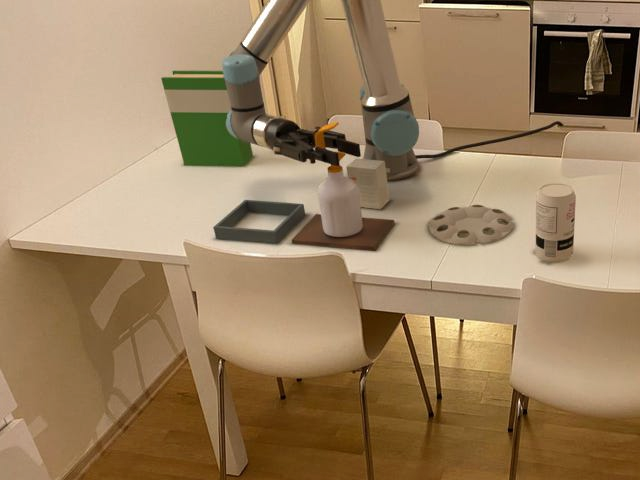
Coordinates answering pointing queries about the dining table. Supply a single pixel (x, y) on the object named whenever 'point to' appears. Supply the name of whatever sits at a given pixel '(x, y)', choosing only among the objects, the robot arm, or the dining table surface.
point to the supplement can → (555, 222)
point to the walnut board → (362, 240)
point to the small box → (370, 182)
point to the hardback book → (203, 119)
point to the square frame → (257, 235)
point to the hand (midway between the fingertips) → (348, 154)
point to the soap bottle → (338, 197)
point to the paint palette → (470, 225)
